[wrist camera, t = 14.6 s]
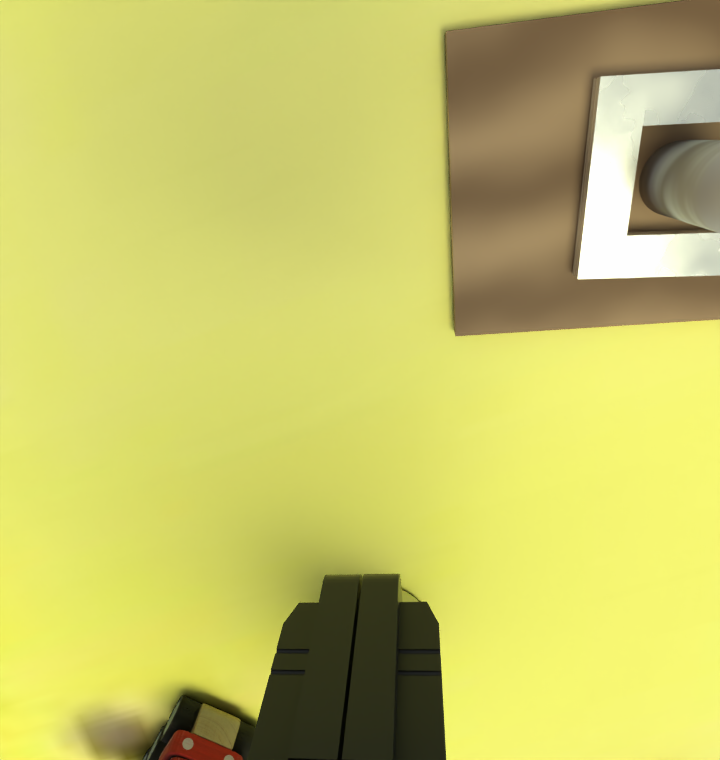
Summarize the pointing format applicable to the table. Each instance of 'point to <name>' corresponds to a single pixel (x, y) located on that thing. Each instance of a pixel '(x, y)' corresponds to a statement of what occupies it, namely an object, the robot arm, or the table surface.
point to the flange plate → (617, 176)
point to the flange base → (570, 167)
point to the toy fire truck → (201, 735)
